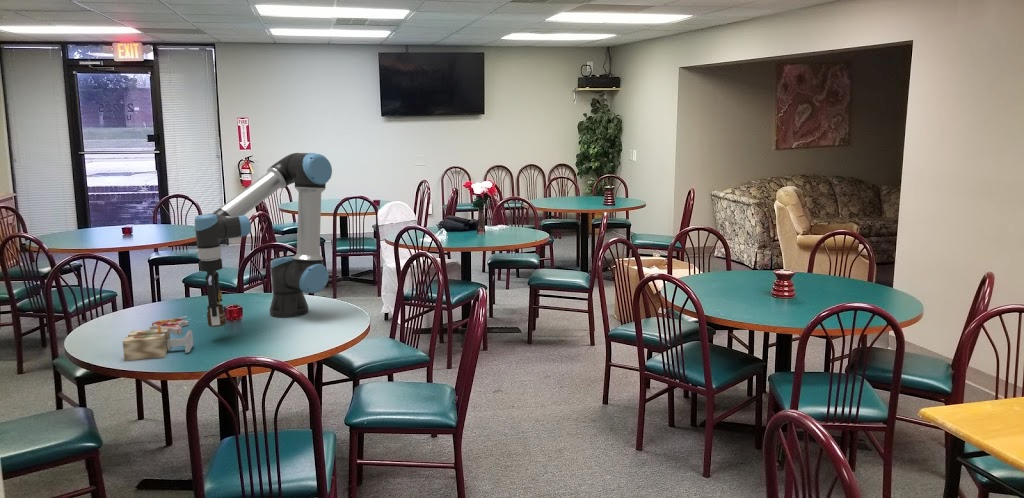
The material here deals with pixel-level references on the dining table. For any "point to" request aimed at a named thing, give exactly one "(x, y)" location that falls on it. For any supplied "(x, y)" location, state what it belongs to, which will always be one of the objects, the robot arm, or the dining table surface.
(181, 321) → the toy
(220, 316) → the utensil holder
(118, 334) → the dining table surface
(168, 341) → the grey flanged cylinder
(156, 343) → the beige box
